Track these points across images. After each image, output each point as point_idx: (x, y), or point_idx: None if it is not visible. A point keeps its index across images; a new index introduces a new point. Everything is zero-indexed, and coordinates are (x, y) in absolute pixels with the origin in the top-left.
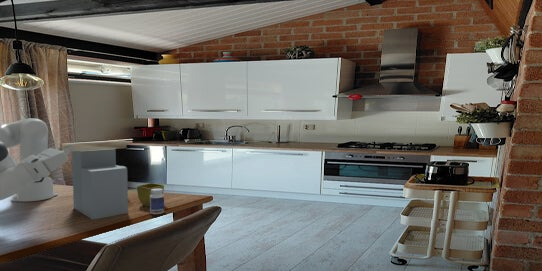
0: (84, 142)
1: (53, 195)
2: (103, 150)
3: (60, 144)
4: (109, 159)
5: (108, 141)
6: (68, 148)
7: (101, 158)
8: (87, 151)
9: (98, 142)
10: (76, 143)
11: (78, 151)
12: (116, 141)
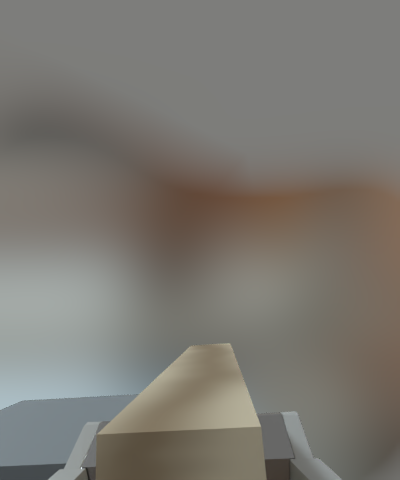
0: (174, 371)
1: None
2: None
3: (116, 448)
4: None
5: (207, 351)
6: (321, 471)
7: None
8: None
9: (235, 358)
10: (234, 384)
11: (14, 473)
12: (231, 347)
